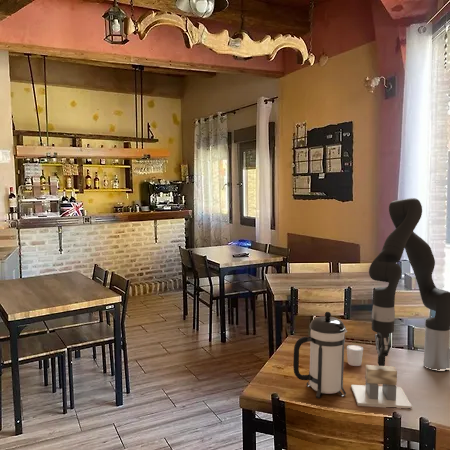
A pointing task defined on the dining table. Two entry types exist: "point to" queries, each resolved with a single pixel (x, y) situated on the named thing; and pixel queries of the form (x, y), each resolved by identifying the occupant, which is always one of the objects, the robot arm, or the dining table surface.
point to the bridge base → (380, 396)
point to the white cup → (354, 355)
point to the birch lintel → (381, 374)
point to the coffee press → (324, 355)
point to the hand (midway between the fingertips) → (381, 365)
